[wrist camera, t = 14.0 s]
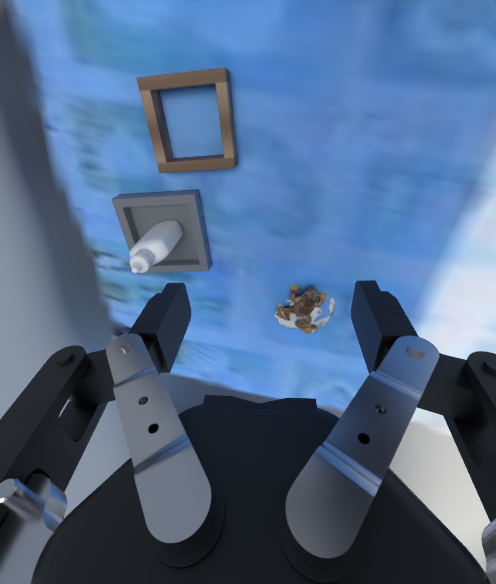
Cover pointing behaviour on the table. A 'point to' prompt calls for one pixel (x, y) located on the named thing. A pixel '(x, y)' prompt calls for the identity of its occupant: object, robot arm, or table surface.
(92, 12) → the table surface
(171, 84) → the holder collar
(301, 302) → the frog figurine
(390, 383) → the robot arm
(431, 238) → the table surface
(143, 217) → the tray
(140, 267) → the eye dropper bottle
